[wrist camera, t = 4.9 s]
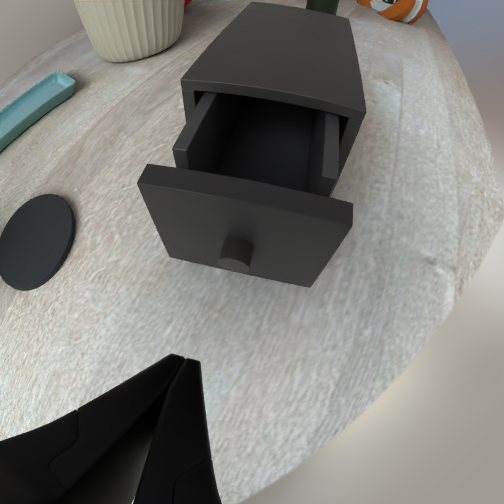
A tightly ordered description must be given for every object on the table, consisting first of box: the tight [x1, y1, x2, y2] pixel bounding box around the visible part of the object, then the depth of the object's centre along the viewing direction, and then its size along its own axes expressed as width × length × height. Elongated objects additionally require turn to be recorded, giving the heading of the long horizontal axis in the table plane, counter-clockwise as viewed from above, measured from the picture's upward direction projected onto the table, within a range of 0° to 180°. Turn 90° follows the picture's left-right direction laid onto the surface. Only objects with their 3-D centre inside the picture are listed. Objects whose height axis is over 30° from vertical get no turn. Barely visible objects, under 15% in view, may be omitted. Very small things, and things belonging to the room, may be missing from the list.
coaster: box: [0, 194, 75, 291], centre depth 20 cm, size 9×9×1 cm
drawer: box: [137, 91, 353, 288], centre depth 19 cm, size 20×9×8 cm, turn 168°
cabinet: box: [181, 2, 366, 192], centre depth 23 cm, size 20×11×10 cm, turn 168°
